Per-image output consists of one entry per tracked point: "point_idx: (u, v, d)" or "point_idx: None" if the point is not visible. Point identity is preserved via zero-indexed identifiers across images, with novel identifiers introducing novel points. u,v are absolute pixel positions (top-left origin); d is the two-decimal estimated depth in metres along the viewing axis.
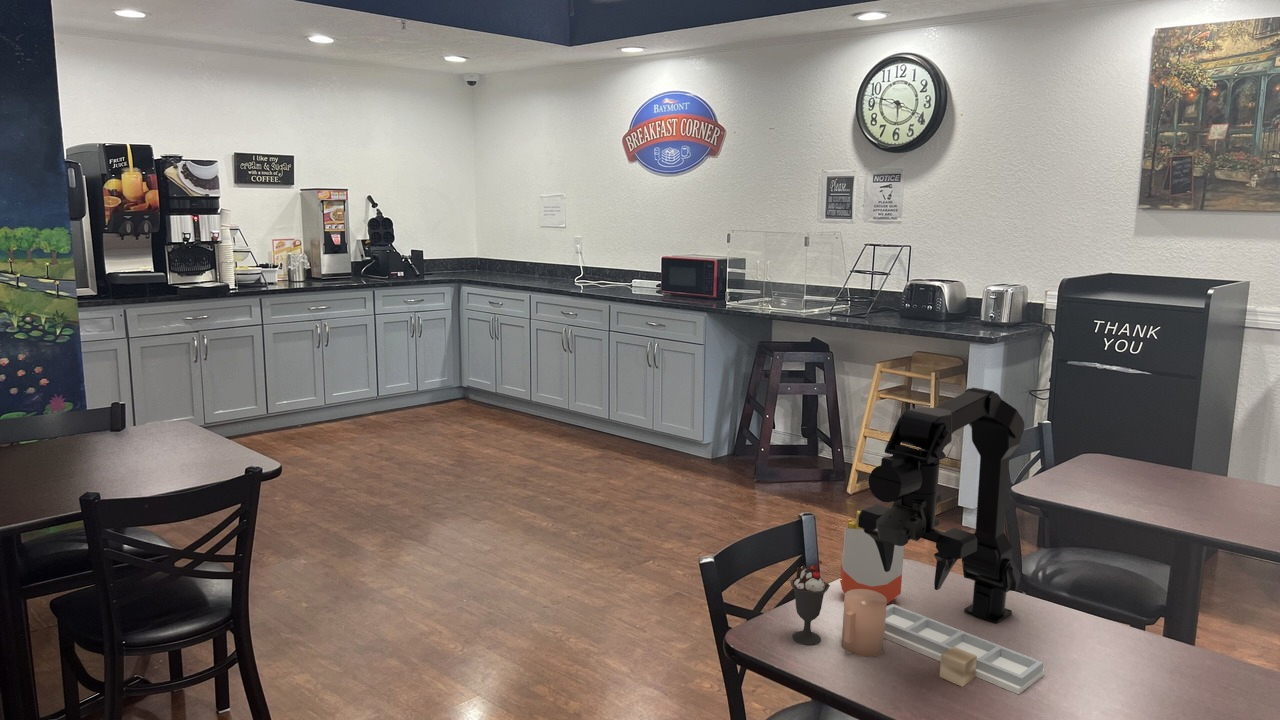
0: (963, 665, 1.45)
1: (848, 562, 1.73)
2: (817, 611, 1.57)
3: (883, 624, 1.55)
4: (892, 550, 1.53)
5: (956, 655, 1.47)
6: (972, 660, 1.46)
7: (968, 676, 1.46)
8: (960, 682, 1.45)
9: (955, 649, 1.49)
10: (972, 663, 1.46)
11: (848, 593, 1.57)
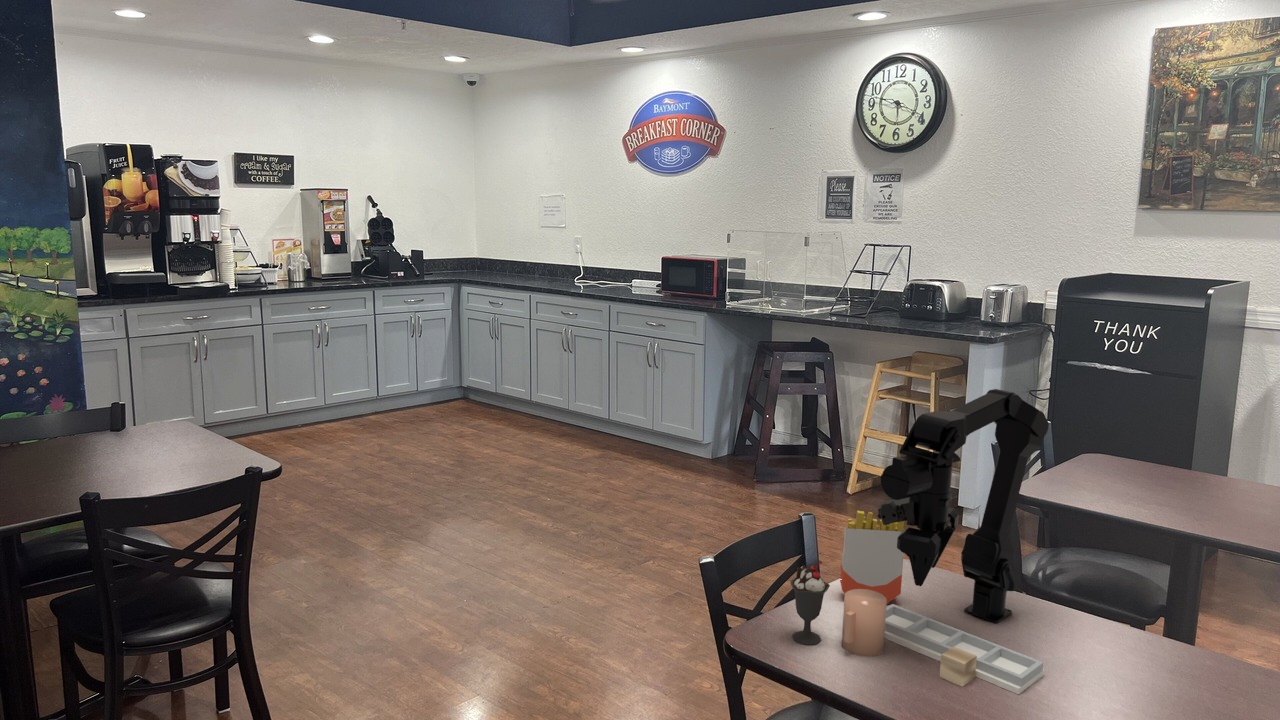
0: (963, 665, 1.45)
1: (848, 562, 1.73)
2: (817, 611, 1.57)
3: (883, 624, 1.55)
4: (939, 550, 1.60)
5: (956, 655, 1.47)
6: (972, 660, 1.46)
7: (968, 676, 1.46)
8: (960, 682, 1.45)
9: (955, 649, 1.49)
10: (972, 663, 1.46)
11: (848, 593, 1.57)
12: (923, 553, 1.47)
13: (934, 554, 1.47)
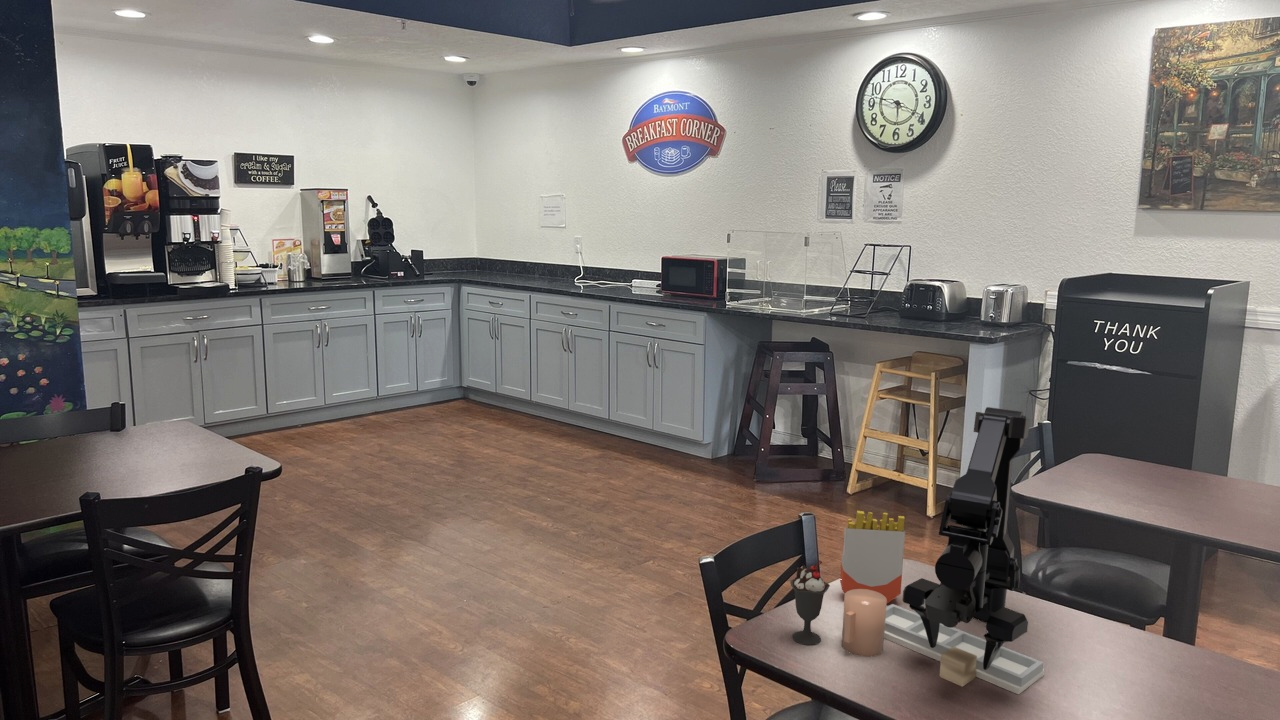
0: (963, 665, 1.45)
1: (848, 562, 1.73)
2: (817, 611, 1.57)
3: (883, 624, 1.55)
4: (938, 625, 1.51)
5: (956, 655, 1.47)
6: (972, 660, 1.46)
7: (968, 676, 1.46)
8: (960, 682, 1.45)
9: (955, 649, 1.49)
10: (972, 663, 1.46)
11: (848, 593, 1.57)
12: (1023, 632, 1.40)
13: None
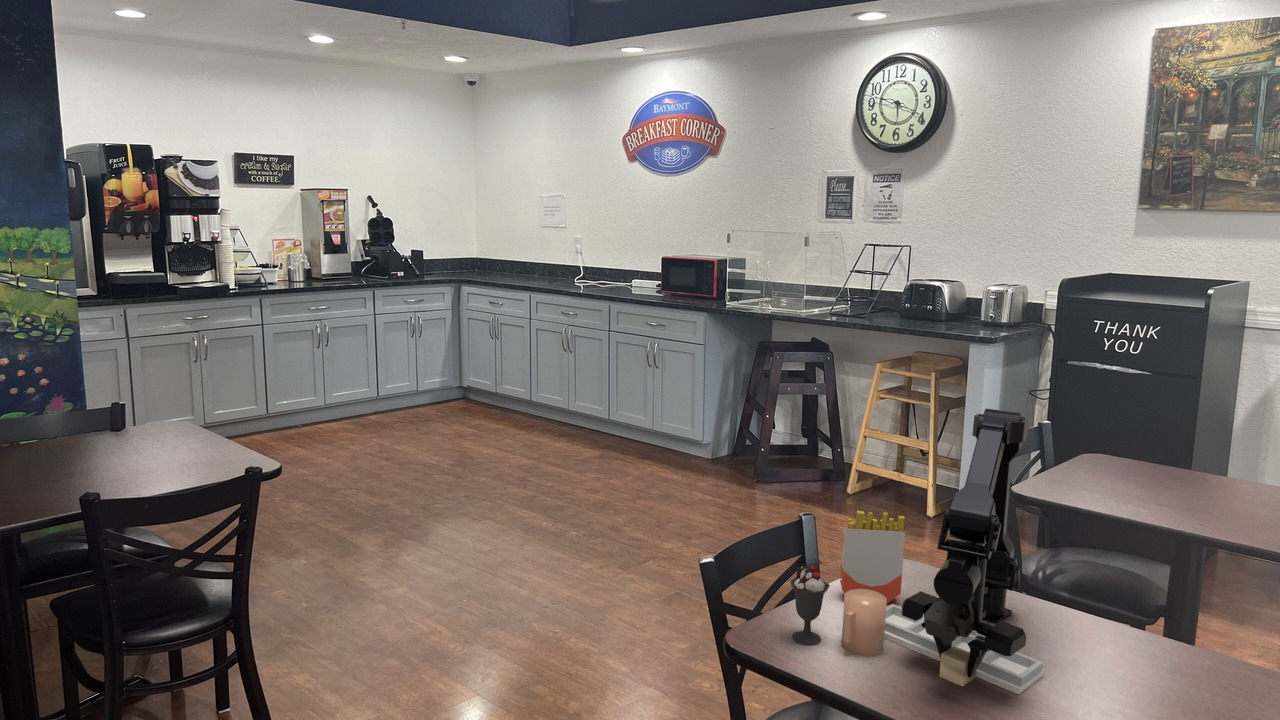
0: (963, 665, 1.45)
1: (848, 562, 1.73)
2: (817, 611, 1.57)
3: (883, 624, 1.55)
4: (950, 644, 1.50)
5: (956, 654, 1.47)
6: None
7: None
8: (960, 681, 1.45)
9: (955, 648, 1.49)
10: None
11: (848, 593, 1.57)
12: (1022, 646, 1.41)
13: None
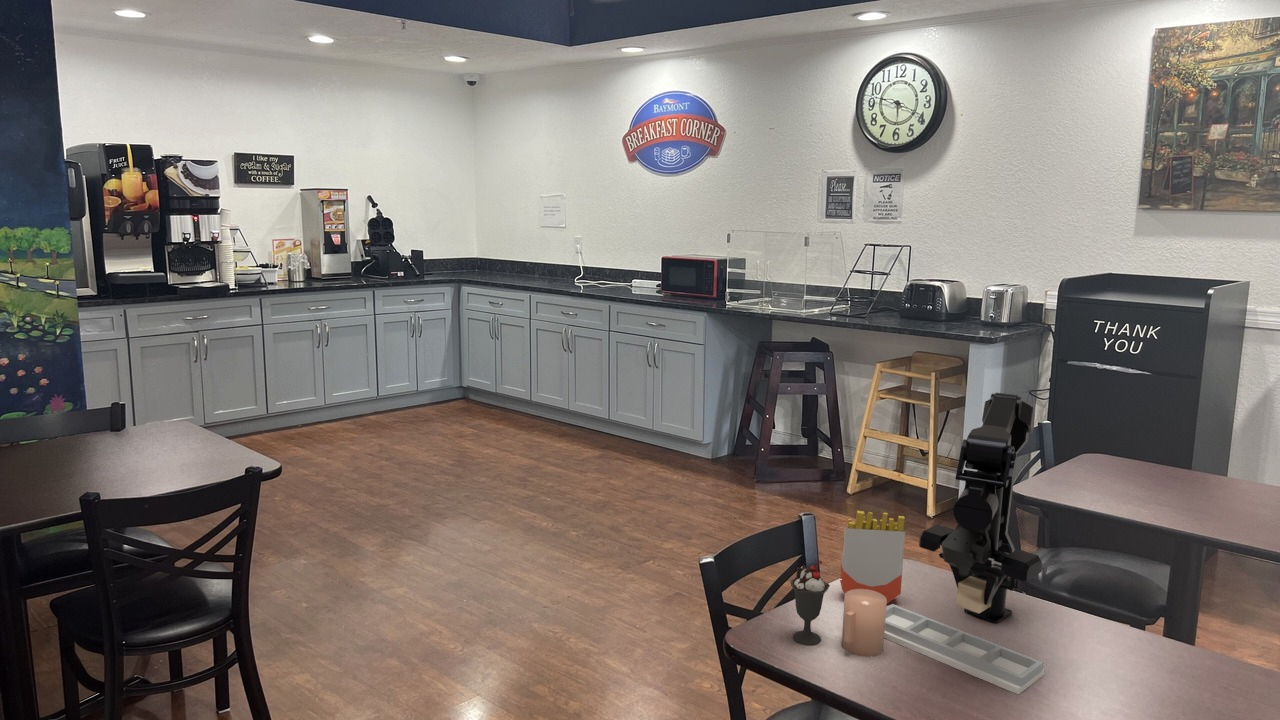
0: (980, 592, 1.48)
1: (848, 562, 1.73)
2: (817, 611, 1.57)
3: (883, 624, 1.55)
4: (967, 574, 1.53)
5: (973, 583, 1.51)
6: None
7: None
8: (977, 609, 1.49)
9: (972, 578, 1.53)
10: None
11: (848, 593, 1.57)
12: (1037, 572, 1.44)
13: None
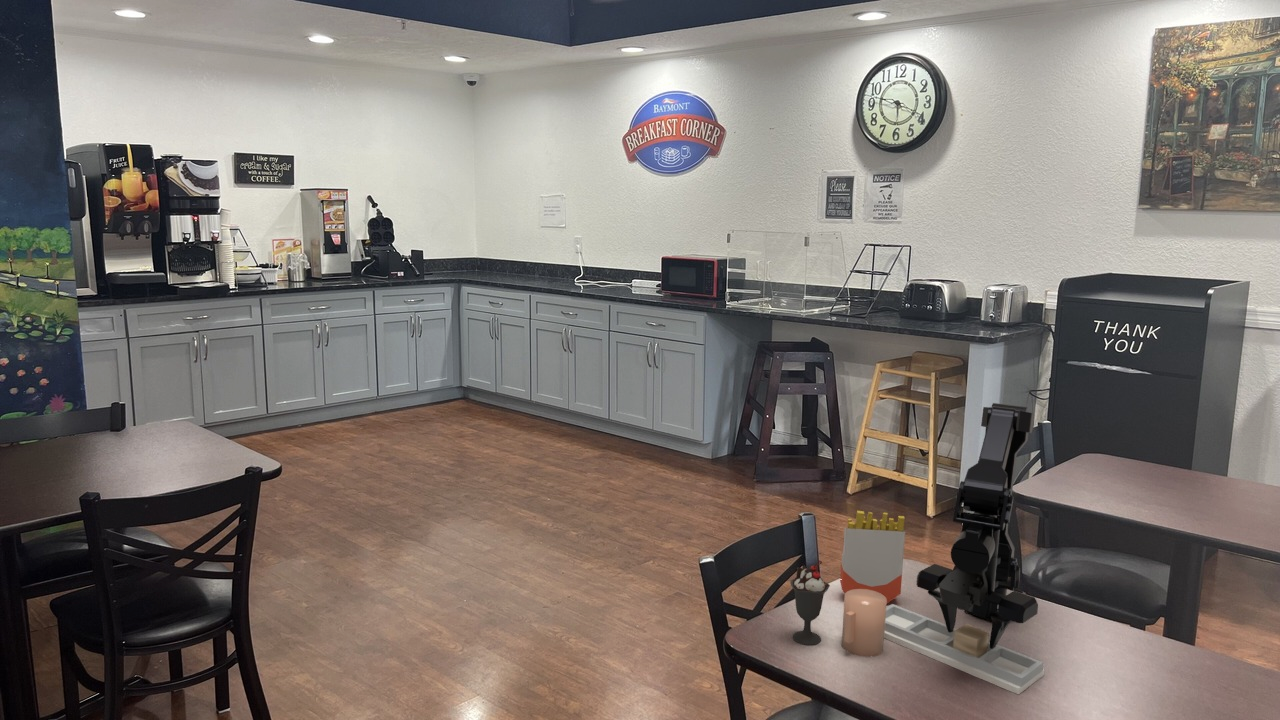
0: (976, 641, 1.50)
1: (848, 562, 1.73)
2: (817, 611, 1.57)
3: (883, 624, 1.55)
4: (955, 611, 1.56)
5: (969, 631, 1.53)
6: (984, 636, 1.52)
7: (981, 651, 1.52)
8: None
9: (968, 626, 1.55)
10: (984, 639, 1.52)
11: (848, 593, 1.57)
12: (1034, 614, 1.46)
13: None
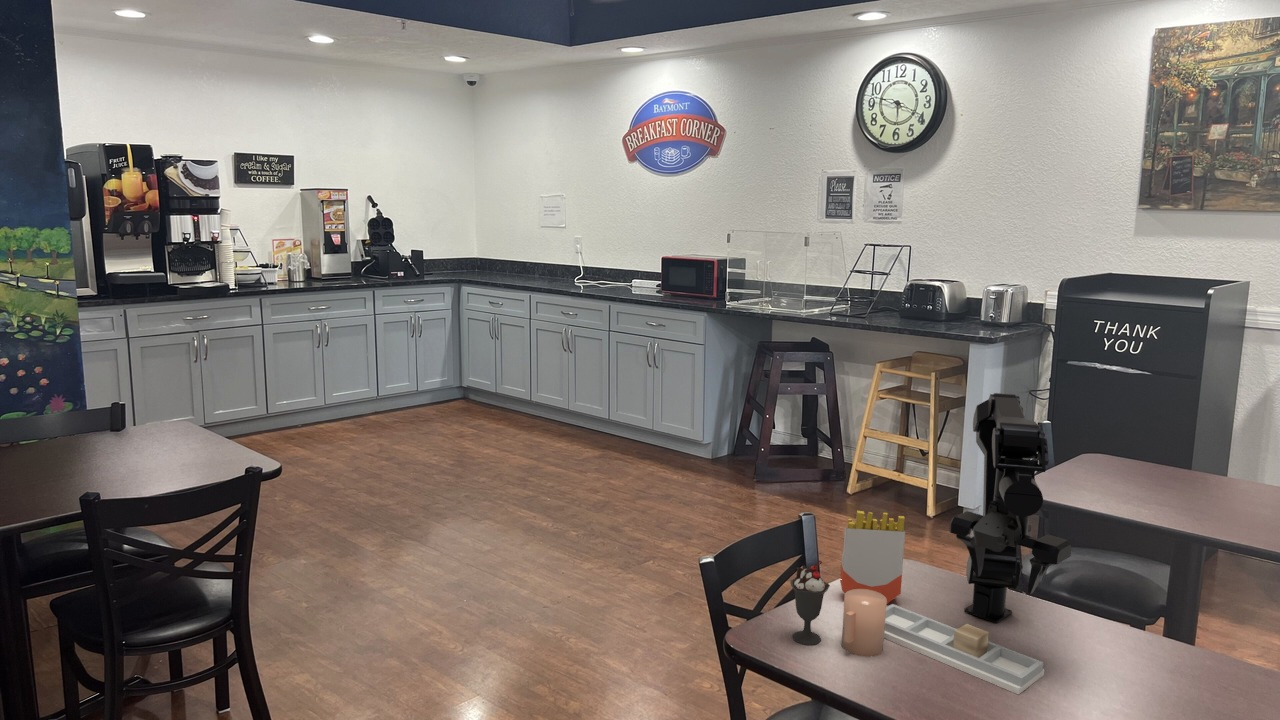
0: (976, 641, 1.50)
1: (848, 562, 1.73)
2: (817, 611, 1.57)
3: (883, 624, 1.55)
4: (983, 555, 1.59)
5: (969, 631, 1.53)
6: (984, 636, 1.52)
7: (981, 651, 1.52)
8: None
9: (968, 626, 1.55)
10: (984, 639, 1.52)
11: (848, 593, 1.57)
12: (1067, 556, 1.48)
13: None
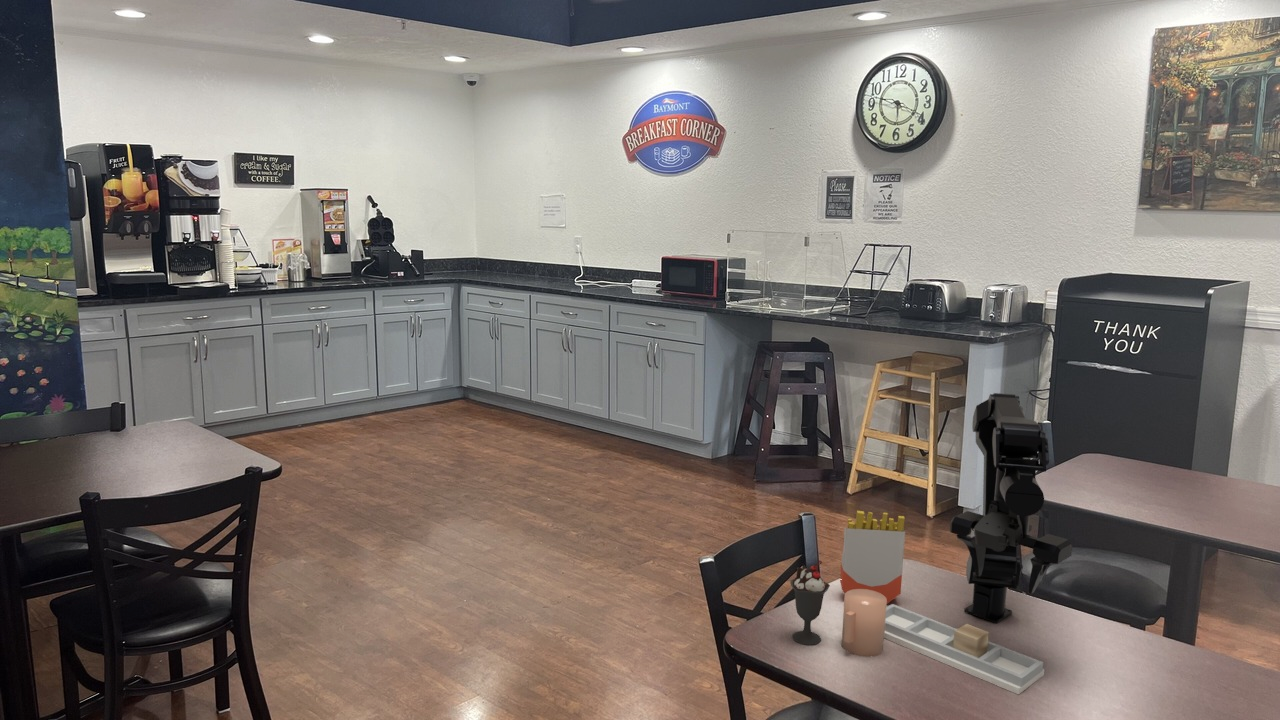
0: (976, 641, 1.50)
1: (848, 562, 1.73)
2: (817, 611, 1.57)
3: (883, 624, 1.55)
4: (983, 555, 1.59)
5: (969, 631, 1.53)
6: (984, 636, 1.52)
7: (981, 651, 1.52)
8: None
9: (968, 626, 1.55)
10: (984, 639, 1.52)
11: (848, 593, 1.57)
12: (1068, 556, 1.48)
13: None
